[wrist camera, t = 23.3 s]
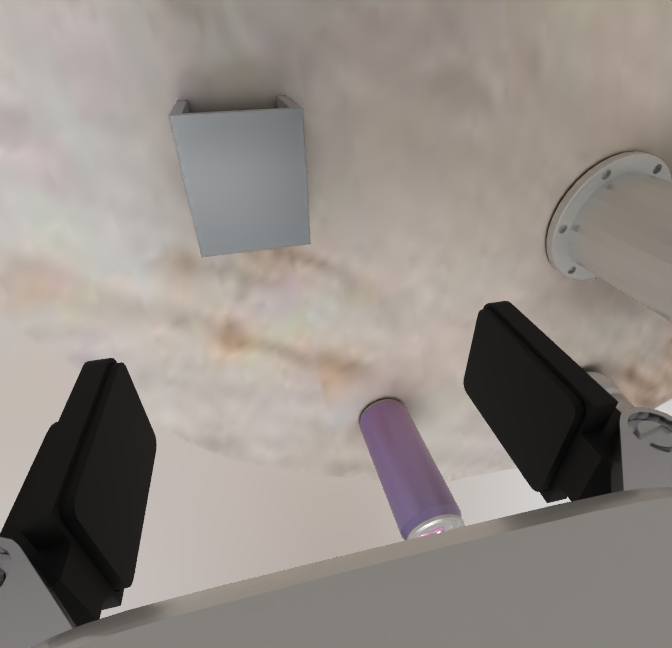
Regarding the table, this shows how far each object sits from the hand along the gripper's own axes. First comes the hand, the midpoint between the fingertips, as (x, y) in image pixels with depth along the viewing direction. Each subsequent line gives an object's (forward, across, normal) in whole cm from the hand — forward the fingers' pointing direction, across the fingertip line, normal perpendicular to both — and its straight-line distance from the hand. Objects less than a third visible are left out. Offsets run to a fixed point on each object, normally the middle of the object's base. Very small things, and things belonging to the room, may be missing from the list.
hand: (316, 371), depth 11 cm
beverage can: (+24, -11, +30) cm, 39 cm away
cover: (+23, +1, 0) cm, 23 cm away
